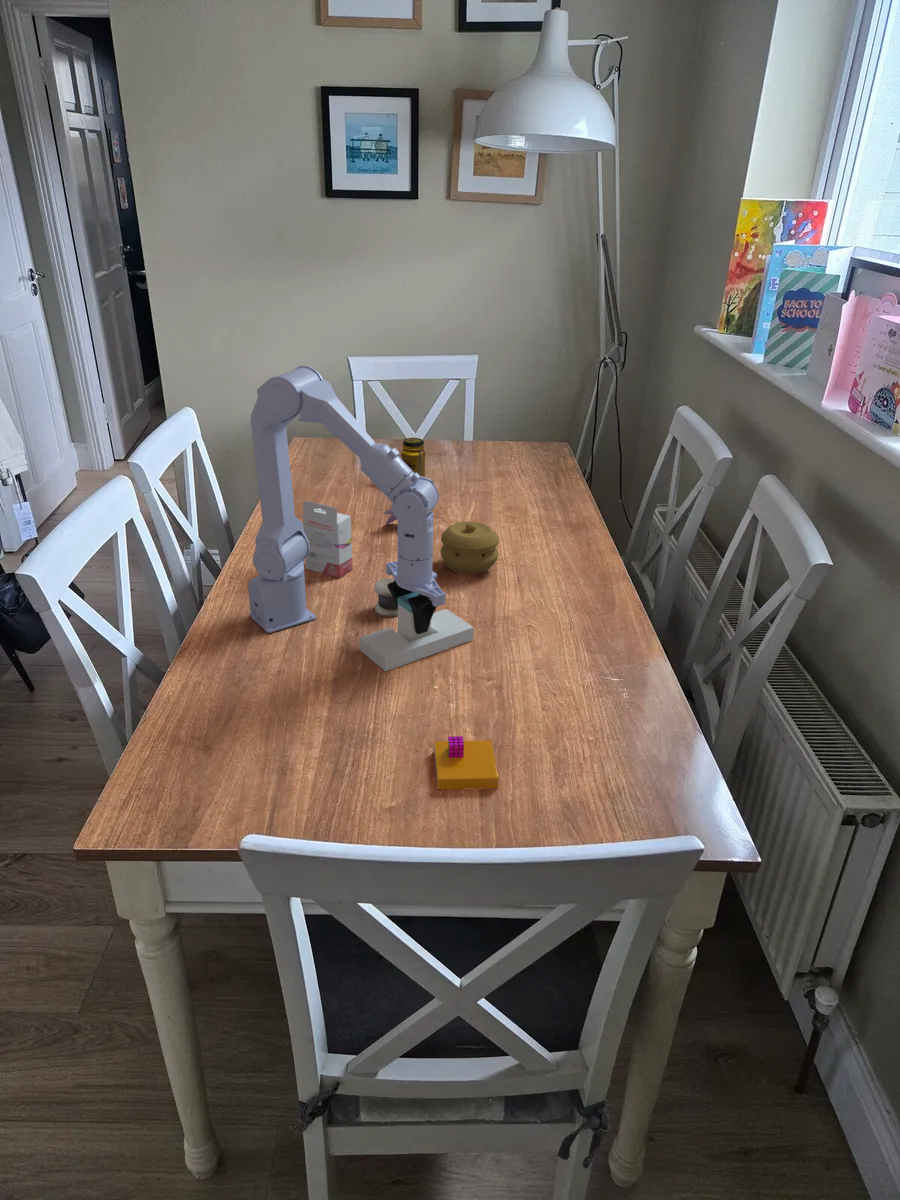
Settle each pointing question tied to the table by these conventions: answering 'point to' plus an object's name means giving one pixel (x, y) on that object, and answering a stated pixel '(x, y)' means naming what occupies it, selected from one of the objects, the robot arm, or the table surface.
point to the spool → (385, 599)
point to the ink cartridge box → (327, 539)
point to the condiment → (414, 455)
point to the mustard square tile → (465, 764)
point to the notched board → (398, 651)
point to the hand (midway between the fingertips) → (414, 626)
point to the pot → (469, 547)
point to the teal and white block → (408, 619)
